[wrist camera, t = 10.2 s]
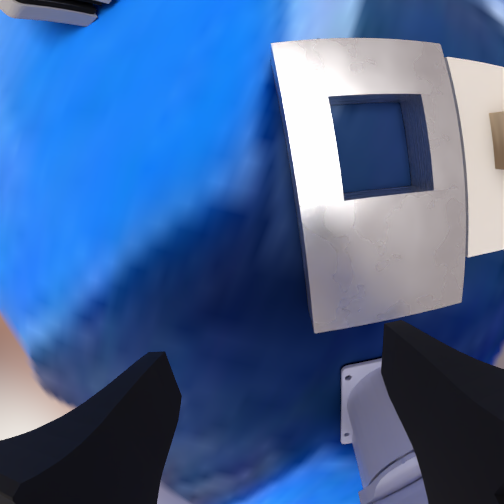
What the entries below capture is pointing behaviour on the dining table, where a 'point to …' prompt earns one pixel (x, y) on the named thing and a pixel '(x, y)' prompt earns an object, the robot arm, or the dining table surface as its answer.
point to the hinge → (53, 10)
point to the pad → (479, 151)
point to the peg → (498, 138)
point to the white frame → (379, 200)
